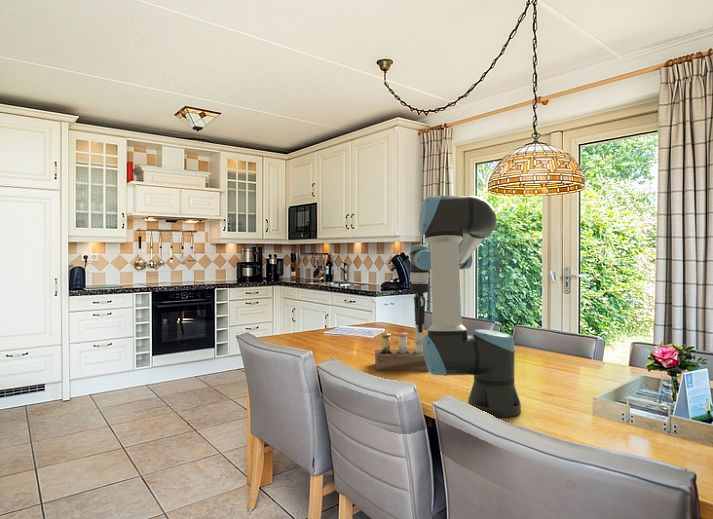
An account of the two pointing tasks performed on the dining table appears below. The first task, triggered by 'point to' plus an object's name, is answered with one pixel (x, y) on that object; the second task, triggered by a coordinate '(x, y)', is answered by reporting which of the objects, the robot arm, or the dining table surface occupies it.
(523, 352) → the dining table surface
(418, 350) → the grey plug
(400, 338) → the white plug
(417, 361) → the brown wooden block
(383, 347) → the brass plug
